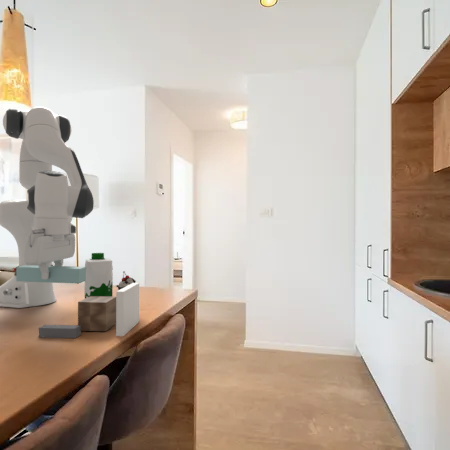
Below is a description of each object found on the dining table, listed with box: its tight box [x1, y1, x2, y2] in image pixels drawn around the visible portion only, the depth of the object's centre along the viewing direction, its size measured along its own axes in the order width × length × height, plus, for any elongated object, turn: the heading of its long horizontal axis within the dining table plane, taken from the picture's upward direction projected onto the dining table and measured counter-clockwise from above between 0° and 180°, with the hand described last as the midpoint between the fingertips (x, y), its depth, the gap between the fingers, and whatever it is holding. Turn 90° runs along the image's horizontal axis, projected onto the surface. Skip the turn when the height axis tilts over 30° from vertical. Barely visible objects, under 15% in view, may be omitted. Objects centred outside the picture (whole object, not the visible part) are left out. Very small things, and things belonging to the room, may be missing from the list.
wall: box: [115, 282, 140, 337], centre depth 102 cm, size 2×14×12 cm, turn 177°
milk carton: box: [84, 252, 114, 299], centre depth 120 cm, size 9×9×20 cm
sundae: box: [115, 270, 137, 291], centre depth 115 cm, size 7×7×15 cm
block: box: [77, 296, 116, 332], centre depth 102 cm, size 8×8×8 cm
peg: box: [16, 265, 86, 284], centre depth 100 cm, size 18×4×4 cm, turn 86°
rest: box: [38, 324, 82, 339], centre depth 95 cm, size 10×3×2 cm, turn 87°
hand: (51, 277), depth 100 cm, fingers closed on peg, 4 cm apart
